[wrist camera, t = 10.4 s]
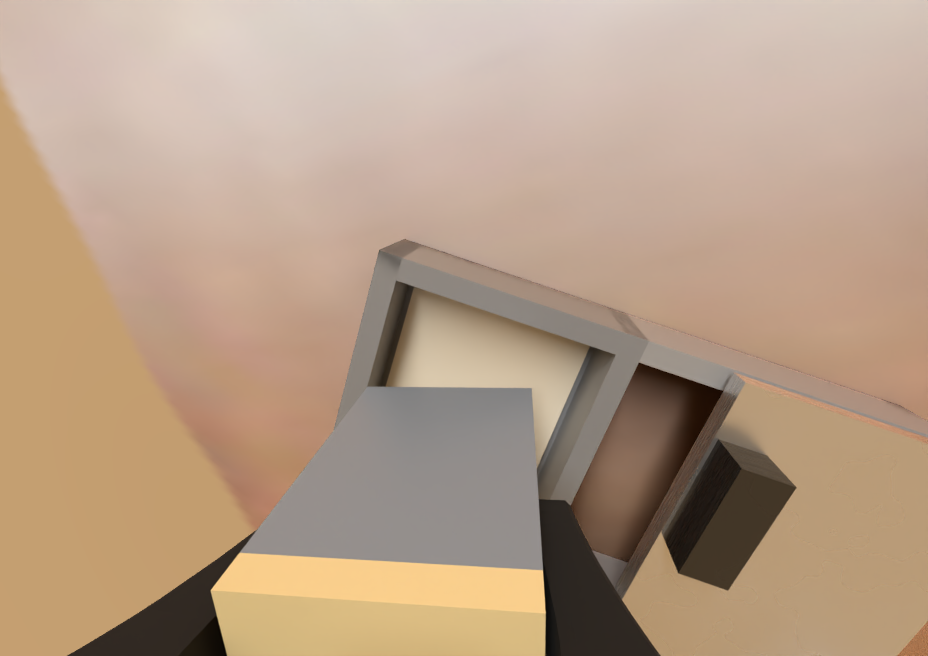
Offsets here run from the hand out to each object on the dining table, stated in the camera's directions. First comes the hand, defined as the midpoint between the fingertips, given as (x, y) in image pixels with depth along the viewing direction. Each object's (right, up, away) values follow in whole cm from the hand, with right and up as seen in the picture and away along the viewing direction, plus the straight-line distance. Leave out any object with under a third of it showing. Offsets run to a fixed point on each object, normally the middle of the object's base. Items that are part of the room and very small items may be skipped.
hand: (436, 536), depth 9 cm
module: (0, +1, +2) cm, 2 cm away
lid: (+9, -2, +3) cm, 10 cm away
